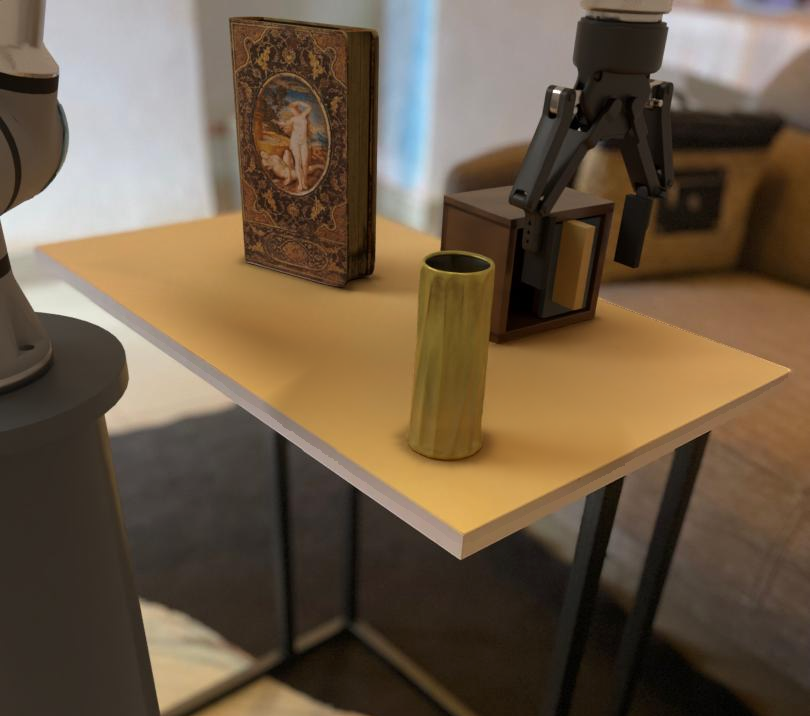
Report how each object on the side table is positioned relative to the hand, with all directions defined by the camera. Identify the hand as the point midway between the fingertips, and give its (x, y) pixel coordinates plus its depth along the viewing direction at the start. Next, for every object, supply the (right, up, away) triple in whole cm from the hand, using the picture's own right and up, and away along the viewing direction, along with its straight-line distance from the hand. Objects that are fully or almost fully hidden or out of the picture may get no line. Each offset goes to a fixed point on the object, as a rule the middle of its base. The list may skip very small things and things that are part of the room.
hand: (581, 274), depth 82 cm
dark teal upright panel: (0, -3, +5) cm, 6 cm away
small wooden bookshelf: (-5, -2, +8) cm, 10 cm away
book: (-29, +6, +18) cm, 35 cm away
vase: (-14, -18, -15) cm, 28 cm away
